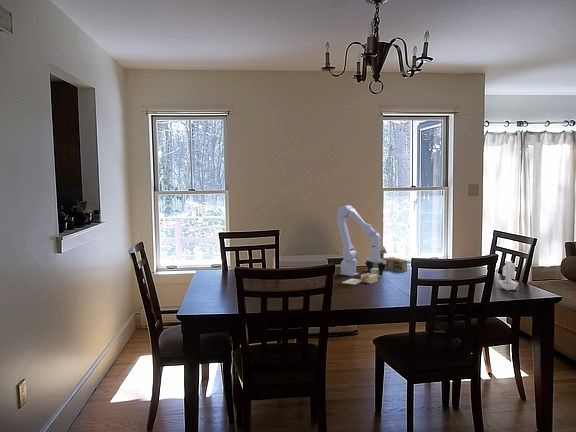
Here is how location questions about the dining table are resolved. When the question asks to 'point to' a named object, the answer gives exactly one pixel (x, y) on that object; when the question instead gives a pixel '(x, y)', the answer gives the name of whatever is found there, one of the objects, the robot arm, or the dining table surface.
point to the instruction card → (352, 281)
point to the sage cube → (375, 271)
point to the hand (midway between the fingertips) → (375, 274)
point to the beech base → (369, 278)
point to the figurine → (508, 276)
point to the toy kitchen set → (392, 262)
